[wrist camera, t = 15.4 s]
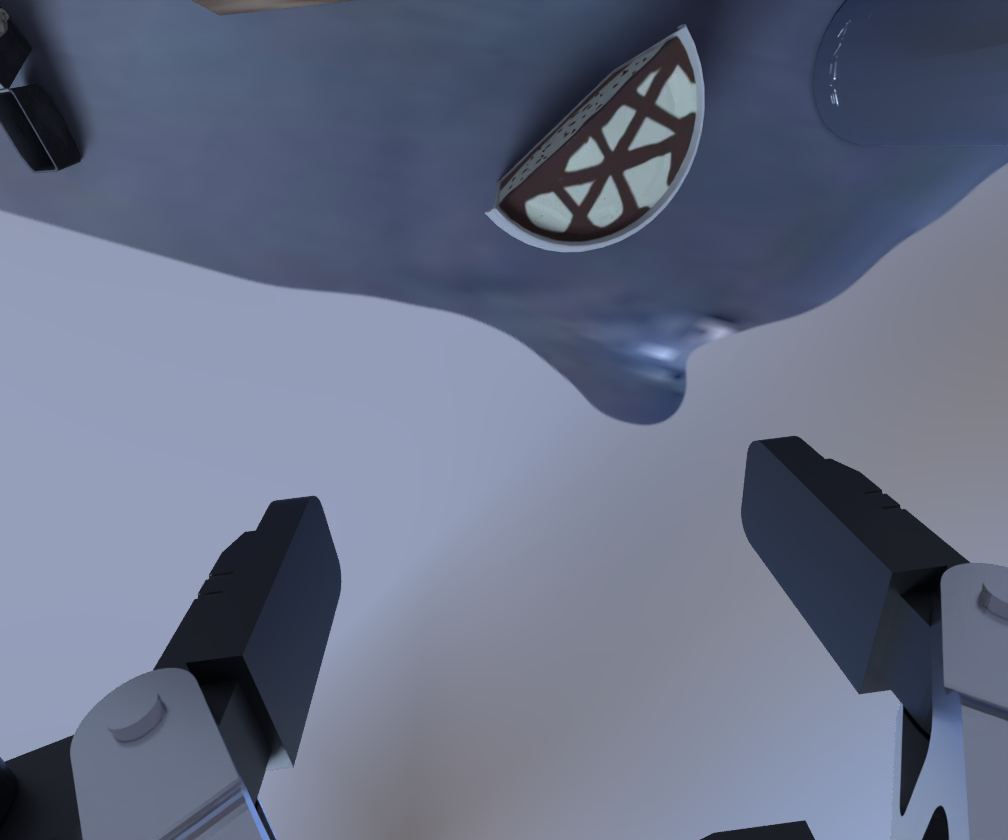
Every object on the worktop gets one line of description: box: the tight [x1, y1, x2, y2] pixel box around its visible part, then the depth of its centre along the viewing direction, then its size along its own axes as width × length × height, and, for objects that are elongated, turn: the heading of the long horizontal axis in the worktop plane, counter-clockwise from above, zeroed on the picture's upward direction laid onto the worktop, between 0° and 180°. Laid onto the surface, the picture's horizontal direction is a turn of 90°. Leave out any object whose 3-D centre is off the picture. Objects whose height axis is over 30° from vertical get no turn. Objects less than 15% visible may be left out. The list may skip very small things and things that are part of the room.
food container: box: [485, 24, 705, 252], centre depth 31 cm, size 12×6×10 cm, turn 132°
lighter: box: [0, 7, 81, 173], centre depth 30 cm, size 9×2×6 cm
